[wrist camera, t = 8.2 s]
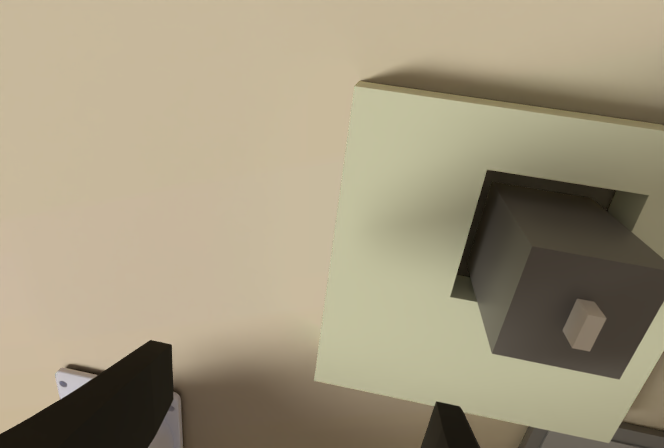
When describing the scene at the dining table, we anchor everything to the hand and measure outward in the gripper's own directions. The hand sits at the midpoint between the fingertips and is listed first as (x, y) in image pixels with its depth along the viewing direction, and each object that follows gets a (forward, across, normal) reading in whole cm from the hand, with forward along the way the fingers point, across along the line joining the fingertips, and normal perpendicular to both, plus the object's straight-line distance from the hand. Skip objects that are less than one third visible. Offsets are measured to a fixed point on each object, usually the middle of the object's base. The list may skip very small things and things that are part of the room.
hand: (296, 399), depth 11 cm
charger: (+9, -8, -2) cm, 12 cm away
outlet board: (+9, -7, 0) cm, 11 cm away
